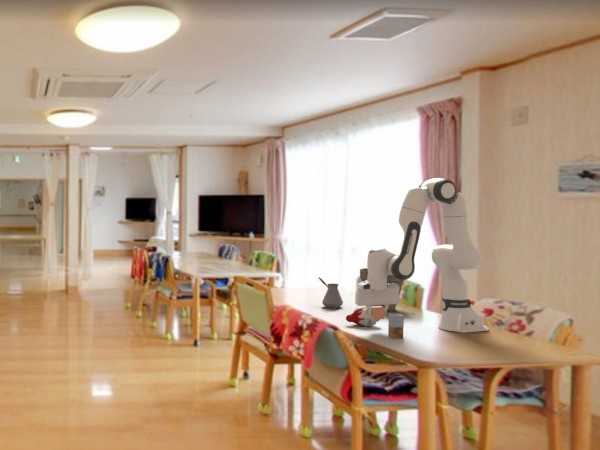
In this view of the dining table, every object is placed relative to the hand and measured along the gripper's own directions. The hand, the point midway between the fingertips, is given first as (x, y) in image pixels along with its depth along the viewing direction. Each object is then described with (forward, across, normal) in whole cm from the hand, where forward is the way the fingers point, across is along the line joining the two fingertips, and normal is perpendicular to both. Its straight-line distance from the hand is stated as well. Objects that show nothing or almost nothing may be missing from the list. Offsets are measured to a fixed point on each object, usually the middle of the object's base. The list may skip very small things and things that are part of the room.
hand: (377, 314), depth 280 cm
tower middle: (+3, -4, +13) cm, 14 cm away
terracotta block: (+2, 0, 0) cm, 2 cm away
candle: (+8, +3, -14) cm, 17 cm away
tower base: (+8, -4, +13) cm, 15 cm away
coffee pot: (+9, +7, -69) cm, 70 cm away
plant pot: (+10, -20, -56) cm, 60 cm away
